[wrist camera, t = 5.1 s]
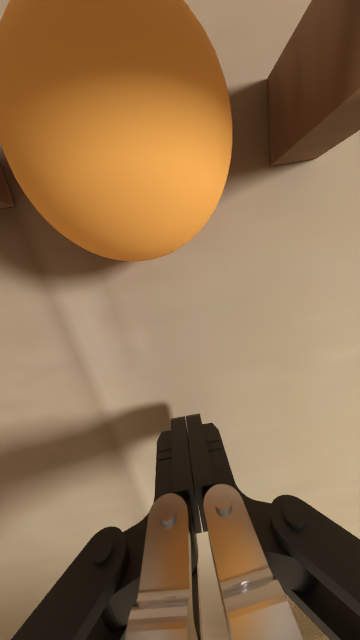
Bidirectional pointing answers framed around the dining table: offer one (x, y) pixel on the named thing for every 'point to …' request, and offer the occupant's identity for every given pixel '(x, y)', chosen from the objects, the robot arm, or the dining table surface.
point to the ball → (115, 121)
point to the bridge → (308, 86)
